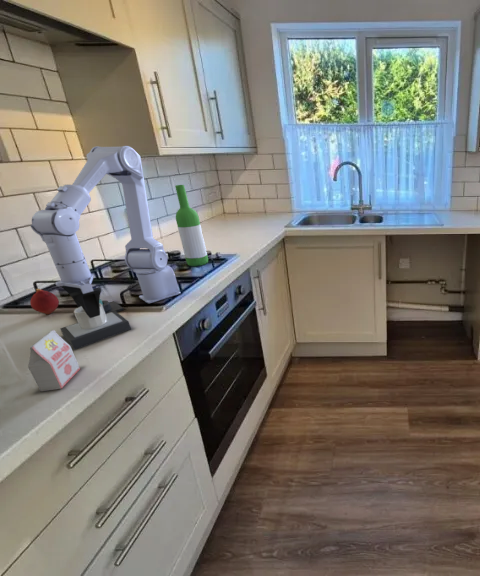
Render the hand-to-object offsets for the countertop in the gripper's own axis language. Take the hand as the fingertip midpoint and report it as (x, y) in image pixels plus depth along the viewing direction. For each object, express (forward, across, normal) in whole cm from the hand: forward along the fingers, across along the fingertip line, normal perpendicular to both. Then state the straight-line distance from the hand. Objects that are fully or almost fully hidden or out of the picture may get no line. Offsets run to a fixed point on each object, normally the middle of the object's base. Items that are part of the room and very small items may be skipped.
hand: (90, 312), depth 90 cm
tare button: (+4, -14, +4) cm, 15 cm away
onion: (+6, -25, -5) cm, 26 cm away
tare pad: (+6, -14, +4) cm, 16 cm away
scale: (+6, 0, 0) cm, 6 cm away
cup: (+3, 0, 0) cm, 3 cm away
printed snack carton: (+6, +17, -11) cm, 21 cm away
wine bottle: (+6, -33, +42) cm, 54 cm away
